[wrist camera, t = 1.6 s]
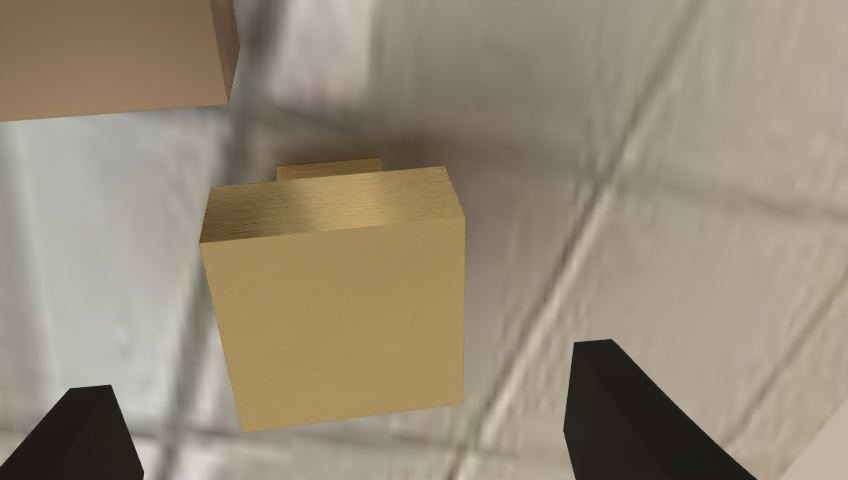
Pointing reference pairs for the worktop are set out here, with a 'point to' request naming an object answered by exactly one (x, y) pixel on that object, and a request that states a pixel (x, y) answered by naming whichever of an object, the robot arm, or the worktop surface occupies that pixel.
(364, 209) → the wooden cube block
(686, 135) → the worktop surface
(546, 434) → the worktop surface
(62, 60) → the brown wooden block
